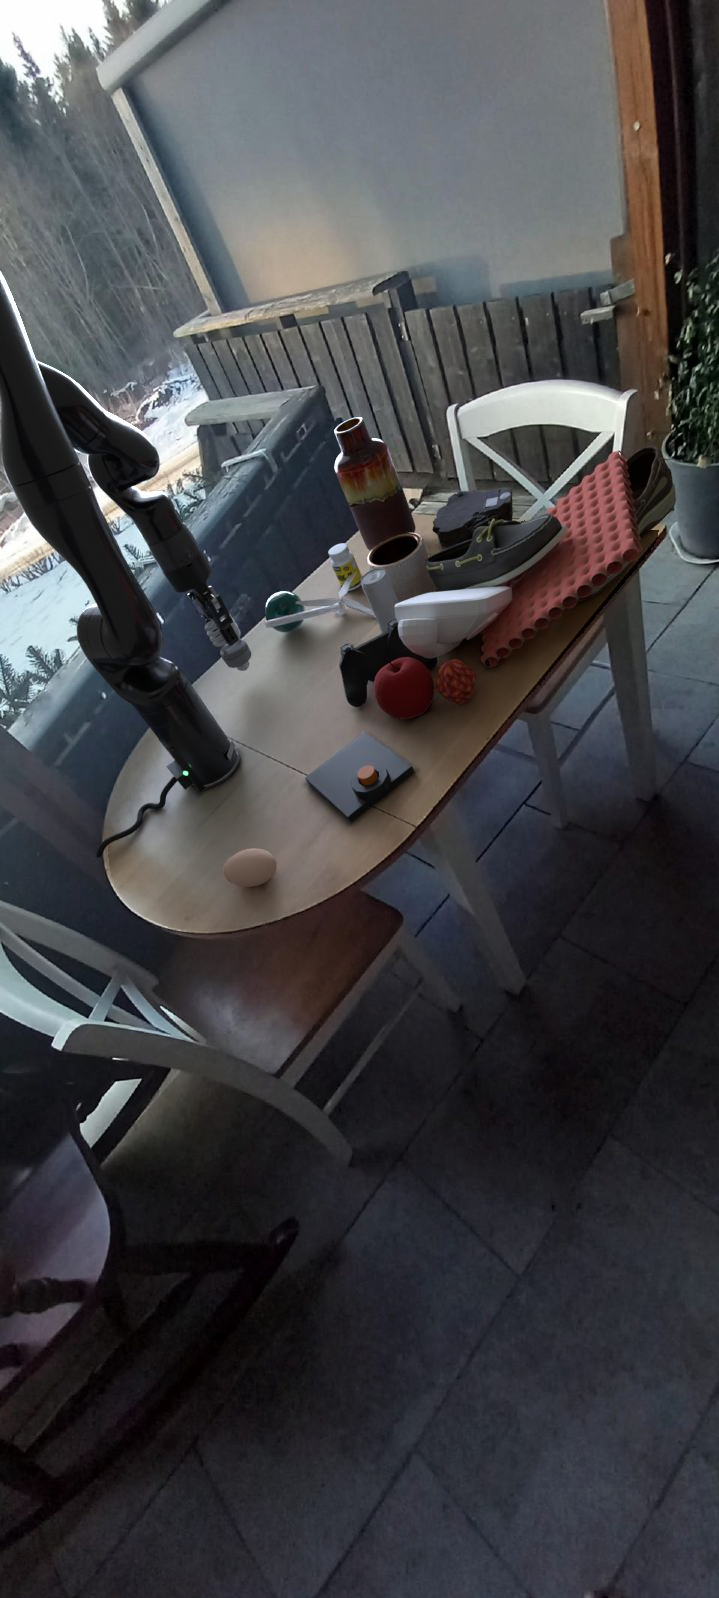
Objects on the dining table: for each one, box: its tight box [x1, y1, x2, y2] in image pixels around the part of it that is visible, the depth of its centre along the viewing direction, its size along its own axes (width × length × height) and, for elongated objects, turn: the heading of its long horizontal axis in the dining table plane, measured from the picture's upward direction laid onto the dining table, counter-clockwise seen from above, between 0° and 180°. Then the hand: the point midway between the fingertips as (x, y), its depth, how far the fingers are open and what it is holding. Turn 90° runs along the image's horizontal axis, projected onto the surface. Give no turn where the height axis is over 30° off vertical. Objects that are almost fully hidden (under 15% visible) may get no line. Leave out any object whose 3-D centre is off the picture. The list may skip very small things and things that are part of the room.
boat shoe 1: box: [425, 513, 569, 592], centre depth 121 cm, size 11×29×9 cm, turn 58°
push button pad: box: [304, 731, 416, 824], centre depth 111 cm, size 14×12×3 cm
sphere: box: [263, 590, 306, 634], centre depth 147 cm, size 8×8×8 cm
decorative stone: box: [434, 658, 479, 706], centre depth 112 cm, size 6×7×8 cm
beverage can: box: [361, 568, 399, 634], centre depth 131 cm, size 5×5×12 cm
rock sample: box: [431, 486, 514, 548], centre depth 148 cm, size 18×16×5 cm
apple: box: [373, 657, 435, 720], centre depth 115 cm, size 9×9×10 cm
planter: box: [366, 532, 436, 603], centre depth 138 cm, size 11×11×10 cm
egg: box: [222, 847, 277, 888], centre depth 104 cm, size 5×5×8 cm
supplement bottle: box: [328, 542, 363, 592], centre depth 150 cm, size 5×5×8 cm
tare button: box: [357, 766, 378, 786], centre depth 106 cm, size 3×3×2 cm
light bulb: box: [204, 614, 252, 672], centre depth 137 cm, size 6×6×12 cm
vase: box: [333, 416, 417, 552], centre depth 147 cm, size 11×11×26 cm
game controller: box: [338, 619, 438, 708], centre depth 124 cm, size 16×7×10 cm, turn 107°
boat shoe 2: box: [577, 445, 677, 603], centre depth 122 cm, size 32×13×12 cm, turn 127°
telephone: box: [394, 586, 512, 659], centre depth 119 cm, size 16×20×9 cm
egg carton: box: [480, 450, 643, 668], centre depth 117 cm, size 28×28×2 cm
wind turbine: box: [264, 572, 376, 629], centre depth 143 cm, size 4×14×21 cm
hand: (226, 637), depth 136 cm, fingers closed on light bulb, 5 cm apart
